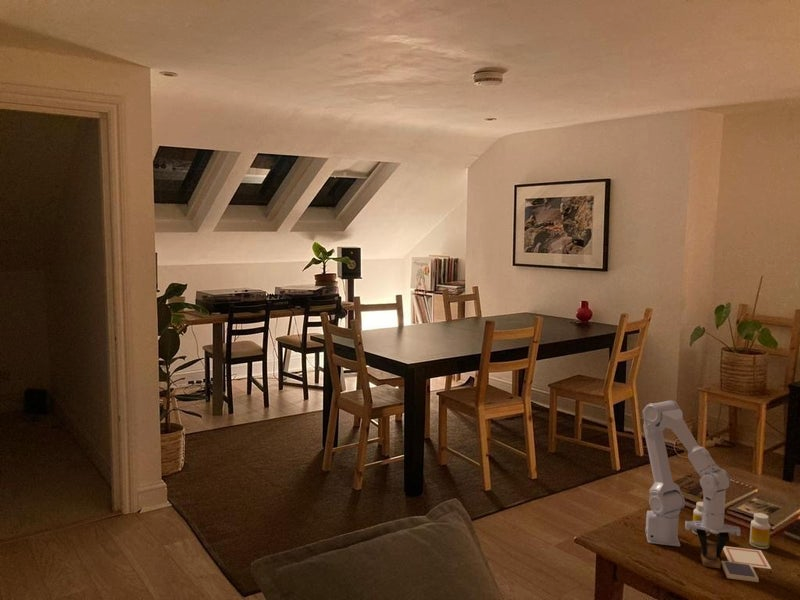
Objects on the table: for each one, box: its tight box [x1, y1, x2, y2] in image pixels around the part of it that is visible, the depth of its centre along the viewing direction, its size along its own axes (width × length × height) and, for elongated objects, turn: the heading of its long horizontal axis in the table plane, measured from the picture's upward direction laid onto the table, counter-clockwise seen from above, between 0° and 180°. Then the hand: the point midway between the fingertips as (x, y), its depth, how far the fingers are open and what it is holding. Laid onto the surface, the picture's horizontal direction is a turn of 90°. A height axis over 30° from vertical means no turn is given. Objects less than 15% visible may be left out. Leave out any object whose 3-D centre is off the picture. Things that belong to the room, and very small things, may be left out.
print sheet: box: [722, 545, 772, 570], centre depth 194 cm, size 11×11×1 cm
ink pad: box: [720, 560, 760, 583], centre depth 186 cm, size 8×8×1 cm
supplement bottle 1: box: [692, 501, 711, 537], centre depth 209 cm, size 5×5×10 cm
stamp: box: [700, 540, 722, 569], centre depth 191 cm, size 4×4×6 cm
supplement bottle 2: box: [749, 512, 771, 550], centre depth 202 cm, size 5×5×10 cm
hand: (710, 555), depth 191 cm, fingers closed on stamp, 3 cm apart
